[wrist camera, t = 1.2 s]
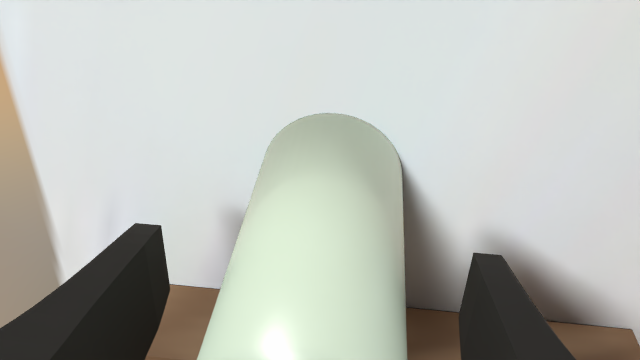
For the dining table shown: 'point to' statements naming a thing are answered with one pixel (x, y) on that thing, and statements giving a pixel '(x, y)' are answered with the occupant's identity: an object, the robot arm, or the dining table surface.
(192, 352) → the peg board
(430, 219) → the dining table surface
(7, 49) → the dining table surface
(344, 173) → the peg
